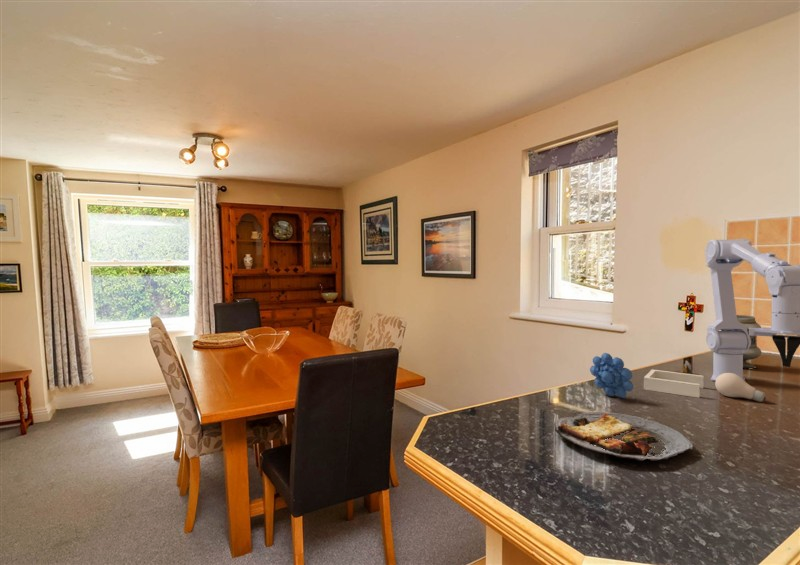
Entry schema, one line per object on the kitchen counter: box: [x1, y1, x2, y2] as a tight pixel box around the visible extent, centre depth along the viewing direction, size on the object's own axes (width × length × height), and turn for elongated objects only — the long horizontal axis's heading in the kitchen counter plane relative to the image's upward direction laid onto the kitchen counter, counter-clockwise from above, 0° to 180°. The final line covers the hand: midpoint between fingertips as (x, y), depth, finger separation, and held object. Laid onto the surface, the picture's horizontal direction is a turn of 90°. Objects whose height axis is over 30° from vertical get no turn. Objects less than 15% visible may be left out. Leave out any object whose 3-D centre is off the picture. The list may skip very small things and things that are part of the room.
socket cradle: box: [643, 368, 705, 399], centre depth 121 cm, size 12×13×4 cm
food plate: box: [553, 411, 694, 462], centre depth 85 cm, size 25×23×4 cm
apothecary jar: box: [720, 314, 762, 368], centre depth 146 cm, size 12×12×18 cm
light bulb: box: [714, 373, 766, 403], centre depth 111 cm, size 7×7×11 cm
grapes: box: [589, 352, 634, 399], centre depth 114 cm, size 12×7×12 cm, turn 39°
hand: (786, 365), depth 105 cm, fingers closed
